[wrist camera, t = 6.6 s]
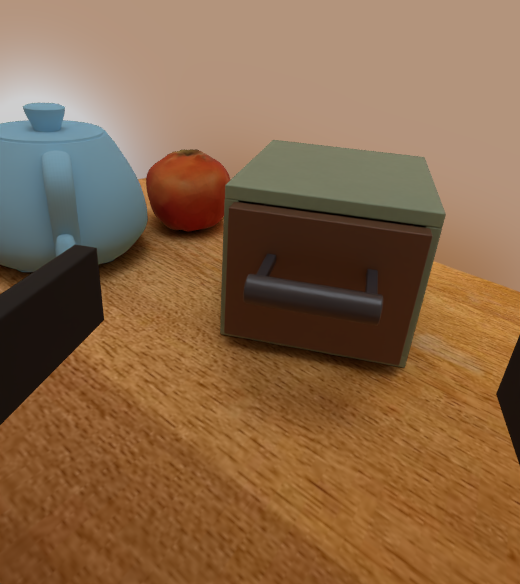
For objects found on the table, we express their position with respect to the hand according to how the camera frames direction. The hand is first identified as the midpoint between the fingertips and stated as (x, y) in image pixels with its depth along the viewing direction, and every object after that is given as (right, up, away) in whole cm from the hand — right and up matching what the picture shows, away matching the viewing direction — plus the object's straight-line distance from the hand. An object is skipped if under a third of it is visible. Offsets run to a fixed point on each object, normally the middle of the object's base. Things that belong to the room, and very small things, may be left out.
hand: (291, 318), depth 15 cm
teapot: (-21, +4, +29) cm, 36 cm away
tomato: (-9, +8, +37) cm, 39 cm away
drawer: (+3, -1, +20) cm, 20 cm away
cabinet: (+4, 0, +24) cm, 25 cm away
